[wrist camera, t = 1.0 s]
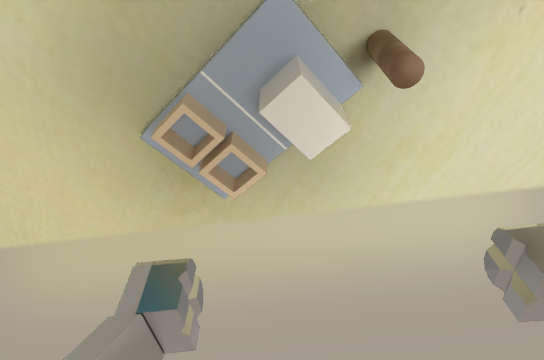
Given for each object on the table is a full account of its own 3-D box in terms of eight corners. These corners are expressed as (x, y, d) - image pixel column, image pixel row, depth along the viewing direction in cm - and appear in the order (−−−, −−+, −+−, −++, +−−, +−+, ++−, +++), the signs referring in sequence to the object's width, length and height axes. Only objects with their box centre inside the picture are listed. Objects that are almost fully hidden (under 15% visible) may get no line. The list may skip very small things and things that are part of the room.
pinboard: (279, -17, 34) (281, -10, 30) (360, 81, 40) (370, 96, 37) (143, 131, 44) (132, 150, 40) (225, 192, 50) (222, 213, 46)
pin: (384, 23, 36) (413, 47, 29) (399, 44, 38) (430, 72, 31) (361, 43, 38) (383, 72, 30) (376, 63, 39) (401, 95, 32)
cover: (296, 54, 37) (301, 74, 32) (341, 104, 40) (351, 128, 36) (259, 89, 39) (259, 112, 34) (305, 133, 43) (310, 160, 38)
